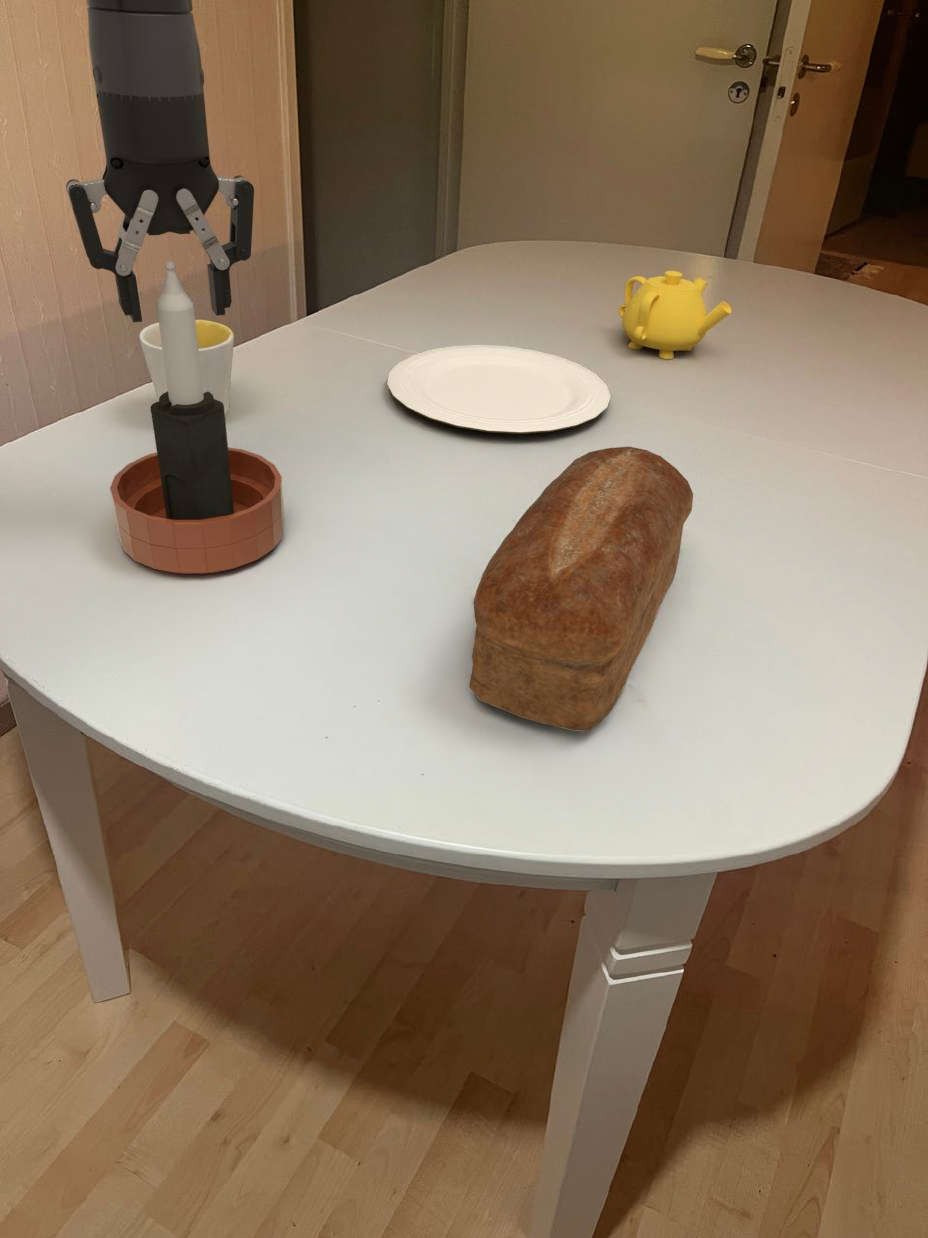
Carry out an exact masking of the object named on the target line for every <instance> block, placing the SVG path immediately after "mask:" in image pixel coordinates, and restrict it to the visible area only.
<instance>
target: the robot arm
mask: <svg viewBox="0 0 928 1238" xmlns="http://www.w3.org/2000/svg"><path fill="white" fill-rule="evenodd" d="M85 2H86V6H88V7H87V21H88V25H87V26H88V47H89V55H90V61H91V68H92V76H93V80H94V86H95V94H96V102H97V108H98V113H99V114H98V115H99V121H100V127H101V134H102V140H103V141H102V142H103V149H104V154H105V155H104V156H105V169H104V172H103V174H102V178H98V179H92V180H85V181H80V180H78V179H74V178H73V179H69V180H68V181H67V182H66V184H65V189H66V192H67V196H68V199H69V202H70V205H71V208H72V209H71V210H72V212H73V215H74V218H75V222H76V225H77V229H78V231H79V235H80V237H81V238H80V239H81V241H82V245H83V248H84V251H85V254H86V257H87V259H88V262H89V263H90V266H91V267H92V268H94V269H97V270H106V271H109V272H111V273H113V274H114V278H115V285H116V291H117V296H118V297H117V298H118V301H119V302H118V303H119V306H120V308H121V311H122V312H123V314H124V316H129V317H130V319H131V321H132V323H142V322H143V316H142V308H141V303H140V302H141V301H140V296H139V288H138V280H137V276H136V274H135V272H134V270H133V267H134V265H135V262H136V259H137V256H138V254H139V251H140V250H141V248H142V247H143V244H144V241H145V237H146V235H148V236H160V235H161V236H162V235H164V234H167V233H173V234H177V235H190V234H191V232H193V234H194V236H195V237H196V239H197V240H198V241H199V243H200V245H201V247H202V248H203V250H204V252H205V253H206V255H207V257H208V258H209V263H207V264H206V265H207V267H206V268H207V276H208V285H209V296H210V306H211V310H212V312H213V313H214V315H215V316H217V317H219V316H226V309H229V308H231V305H232V302H233V300H232V288H231V277H230V269H231V268H232V266H233V265H234V264H236V263H238V262H241V261H244V262H245V261H248V260H249V259H250V258H251V256H252V243H253V242H252V241H253V223H254V220H253V219H254V204H255V203H254V200H255V187H254V185H253V184H252V183H251V182H250V181H249V180H248V179H246V178H245V177H244V176H243V175H240V174H237V175H235V176H233V177H225V176H217V174H216V173H215V171H214V168H213V166H212V163H211V157H210V156H211V155H210V146H209V133H208V124H207V123H208V122H207V113H206V111H207V110H206V100H205V89H204V86H205V74H204V73H205V72H204V69H203V66H202V58H201V57H202V56H201V51H200V50H201V48H200V44H199V37H198V35H197V31H196V24H195V19H194V13H193V11H194V10H193V0H85ZM219 192H220V193H221V194H222V197H223V202H224V203H225V204H226V205H227V206H228V207H229V208H230V218H229V242H226V243H224V244H222V245H221V243H220V242H219V240H218V237H217V236H216V234H215V231H214V230H213V228H212V226H211V225H210V223H209V222H208V220H207V218H206V213H207V211H208V209H209V208H210V206H211V205H212V203H213V201H214V199H215V198H216V196H217V194H218V193H219ZM106 195H107V196H108V197H109V198H110V199H111V200H112V202H113V203H114V204H115V205H116V206H117V207H118V209H119V210H121V212H122V213H123V214H124V215H123V217H122V220H121V223H120V227H119V229H118V234H117V239H116V241H115V244H114V248H113V250H110V249H108V248H107V249H106V248H104V247H103V244H102V240H101V237H100V234H99V231H98V228H97V224H96V220H95V217H94V214H97V213H98V212H100V210H101V208H102V203H101V201H102V198H103V197H104V196H106Z"/></svg>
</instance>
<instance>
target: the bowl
mask: <svg viewBox="0 0 928 1238" xmlns="http://www.w3.org/2000/svg"><path fill="white" fill-rule="evenodd" d="M228 453H229V464H230V474H231V484H232V495H233V505H234V514H231V515H228V516H222V517H215V518H209V519H202V520H172V519H167V517H166V511H165V504H164V497H163V490H162V483H161V476H160V470H159V463H158V456H157V451H156V452H153V453H149V454H146V455H144V456H142V457H140V458H138V459H136V460H134V461H132V462H130V463H128V464H126V465H125V466H124V467H123V468H122V469H121V470H120V471H118V472H117V473H116V474H115V475H114V477H113V480H112V482H111V485H110V487H109V490H110V497H111V502H112V508H113V512H114V513H113V514H114V518H115V523H116V530H117V535H118V538H119V539H118V540H119V542H120V545H121V549H122V550H123V551H124V552H125V553H126V554H127V555H128V556H129V557H131V559H132V560H133V561H135V562H137V563H139V564H142V565H144V566H146V567H149V568H151V569H155V570H159V571H163V572H169V573H176V574H186V575H205V574H213V573H214V574H215V573H221V572H225V571H230V570H233V569H236V568H239V567H241V566H244V565H247V564H250V563H252V562H255V561H257V560H259V559H261V558H262V557H263V556H265V555H267V554H268V553H269V552H271V551H273V550H274V549H275V548H276V547H277V545H278V544H279V542H280V541H281V540H282V538H283V537H284V533H285V532H284V531H285V511H284V510H285V509H284V495H283V493H284V492H283V479H282V478H283V477H282V474H281V473H280V471H279V470H278V468H277V467H276V465H275V464H274V463H272V462H271V461H269V460H268V459H267V458H266V457H264V456H262V455H261V454H257V453H254V452H251V451H249V450H245V449H243V448H235V447H229V446H228Z"/></svg>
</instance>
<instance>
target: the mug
mask: <svg viewBox="0 0 928 1238" xmlns="http://www.w3.org/2000/svg"><path fill="white" fill-rule="evenodd" d="M195 323H196V332H197V341H198V350H199V359H200V368H201V378H202V387H203V393H205V392H210V393H211V394H212V395H213V397H214V399H215V400H218V401H220V402H222V403H223V405H224V412H225V415H227V413H229V412H228V411H229V409H230V399H231V398H230V397H231V383H232V382H231V381H232V369H233V368H232V367H233V358H234V344H235V343H234V342H235V335H234V332H233V330H232V328H230V327H228V326H227V325H225V324H222V323H219V322H216V321H211V320H206V319H196V318H195ZM138 336H139V337H138V338H139V342H140V345H141V349H142V352H143V355H144V359H145V362H146V365H147V369H148V371H149V375H150V378H151V380H152V381H151V382H152V385H153V388H154V392H155V396H156V398H157V402H158V401H159V398H160V396H161V395H162V394H163V393H165V392H167V391H168V387H167V380H166V372H165V365H164V357H163V350H162V342H161V335H160V327H159V322H155V323H152V324H150V325H148V326H146V327H144V328H142V330H141V331H140V333H139V335H138Z"/></svg>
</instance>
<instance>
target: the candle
mask: <svg viewBox="0 0 928 1238" xmlns="http://www.w3.org/2000/svg"><path fill="white" fill-rule="evenodd" d="M164 268H165V270H166V273H165V278H164V284H163V288H162V289H163V290H162V292H161V295H160V296H159V298H158V300H157V302H156V311H157V319H158V323H159V327H160V335H161V342H162V350H163V357H164V365H165V372H166V380H167V387H168V391H167V392H165V393H163V394H162V395H161V396H160V398H159V401H158V400H157V401H156V402H153V403H152V404H151V405H150V415H151V422H152V427H153V434H154V435H153V436H154V443H155V449H156V452H157V456H158V463H159V470H160V476H161V483H162V490H163V497H164V504H165V511H166V517H167V519H172V520H202V519H209V518H215V517H222V516H228V515H231V514H234V505H233V495H232V484H231V474H230V464H229V453H228V447H229V446H228V445H229V443H228V435H227V425H226V424H227V422H226V414H225V412H224V405H223V403H222V402H220V401H218V400H215V399H214V397H213V395H212V394H211V393H210V392H205V393H203V387H202V378H201V368H200V359H199V350H198V341H197V332H196V323H195V319H196V316H195V315H196V314H195V306H194V305H195V304H194V302H193V301H192V299H191V298H190V297H189V296H188V294H187V293H186V292H185V290H184V288H183V286H182V284H181V283H182V282H181V281H180V279H179V277H178V274H177V272H176V268H177V265H176V263H175V262H174V261H173V260H167V261H166V262H165V264H164Z"/></svg>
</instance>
